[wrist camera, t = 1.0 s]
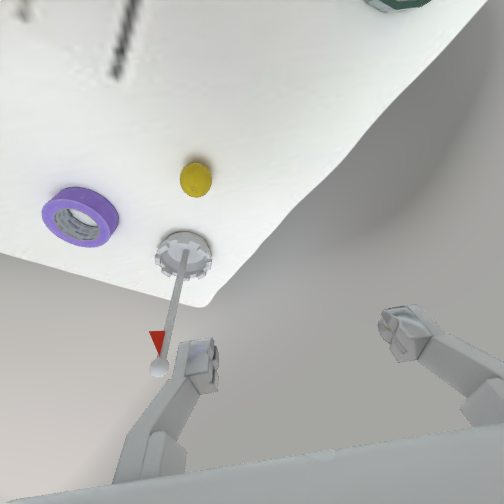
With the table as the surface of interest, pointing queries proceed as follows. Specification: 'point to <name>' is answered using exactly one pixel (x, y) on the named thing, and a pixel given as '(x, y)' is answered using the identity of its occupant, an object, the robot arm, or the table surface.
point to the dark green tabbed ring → (396, 4)
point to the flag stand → (177, 283)
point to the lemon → (195, 179)
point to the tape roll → (72, 229)
